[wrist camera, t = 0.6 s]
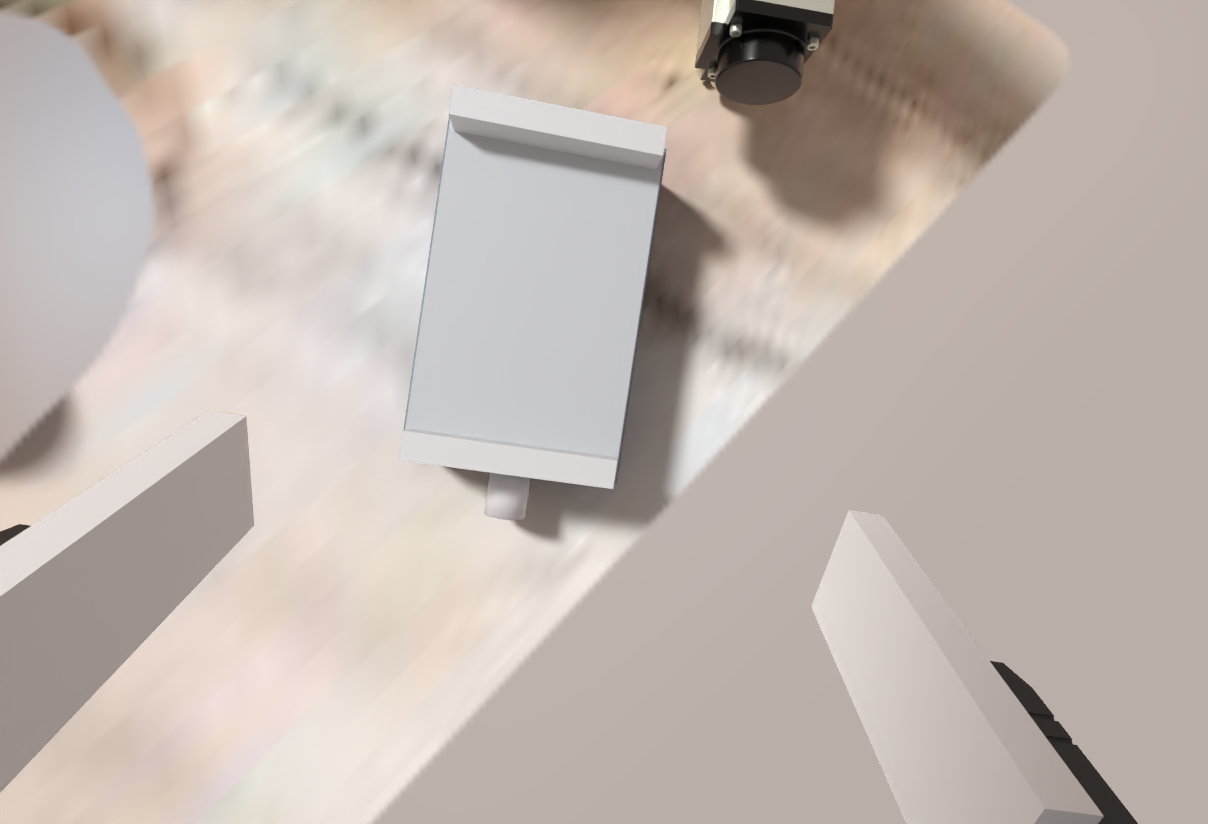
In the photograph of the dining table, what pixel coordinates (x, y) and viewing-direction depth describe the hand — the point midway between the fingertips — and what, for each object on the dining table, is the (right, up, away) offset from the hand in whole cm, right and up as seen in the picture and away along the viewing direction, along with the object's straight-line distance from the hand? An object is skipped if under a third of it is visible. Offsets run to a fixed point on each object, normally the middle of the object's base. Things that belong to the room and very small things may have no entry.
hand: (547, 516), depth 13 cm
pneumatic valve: (+8, +25, +25) cm, 37 cm away
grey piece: (-3, +7, +25) cm, 26 cm away
